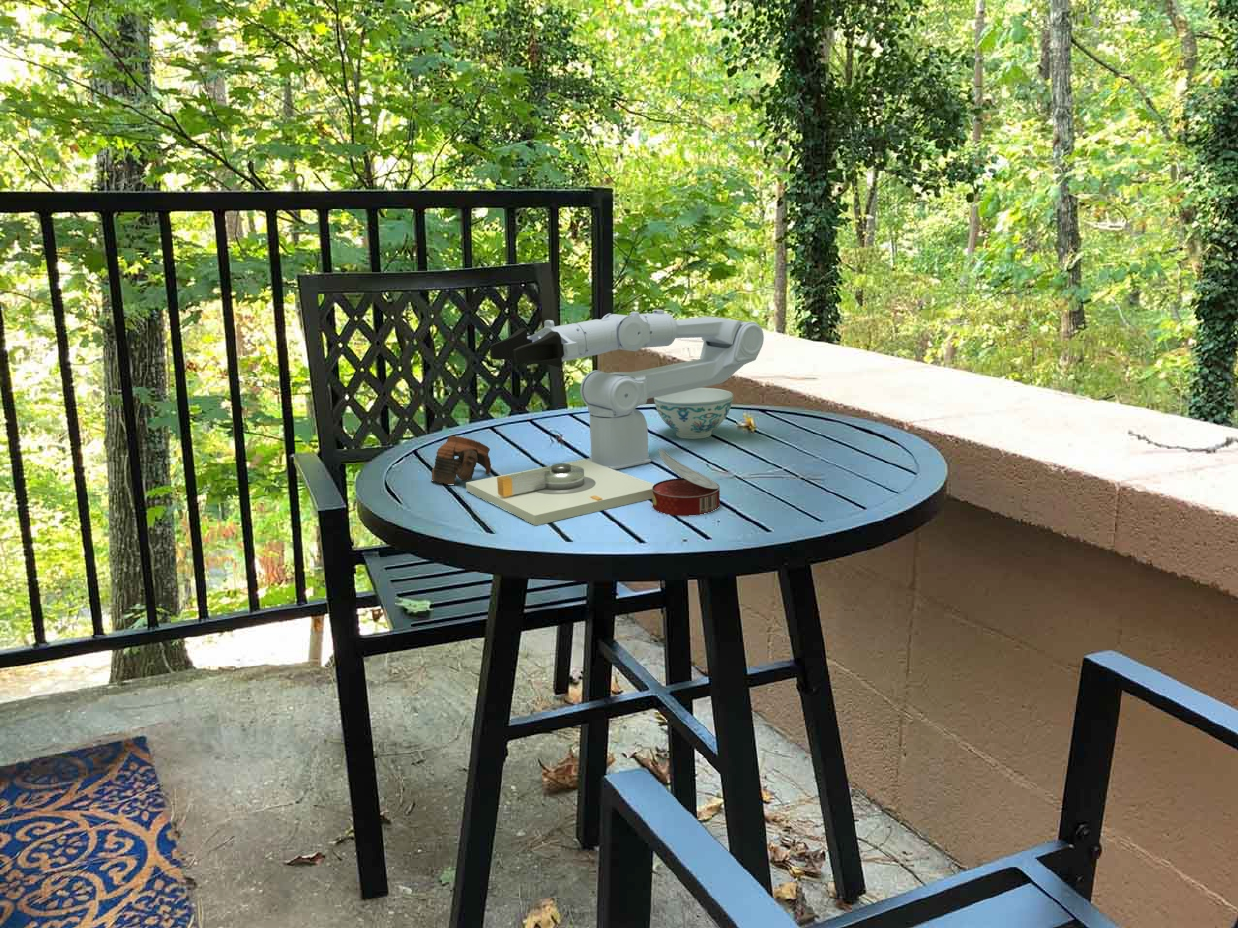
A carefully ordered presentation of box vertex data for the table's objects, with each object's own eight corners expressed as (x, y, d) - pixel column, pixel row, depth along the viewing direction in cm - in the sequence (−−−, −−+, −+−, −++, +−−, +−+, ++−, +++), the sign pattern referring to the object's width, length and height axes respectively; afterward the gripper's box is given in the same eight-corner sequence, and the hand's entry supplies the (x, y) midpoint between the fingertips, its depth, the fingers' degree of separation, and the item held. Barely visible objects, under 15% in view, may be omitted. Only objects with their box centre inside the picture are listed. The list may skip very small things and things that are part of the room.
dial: (569, 474, 156) (568, 457, 156) (593, 484, 151) (592, 466, 150) (490, 490, 149) (488, 473, 148) (512, 501, 143) (510, 482, 142)
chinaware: (737, 442, 180) (736, 401, 178) (655, 445, 181) (654, 403, 179) (729, 425, 195) (729, 386, 193) (654, 427, 195) (653, 388, 193)
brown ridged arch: (420, 481, 164) (435, 434, 166) (472, 498, 168) (486, 452, 170) (441, 478, 153) (457, 429, 155) (496, 497, 157) (511, 448, 159)
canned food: (673, 526, 150) (685, 463, 152) (729, 531, 144) (740, 465, 145) (628, 509, 142) (641, 442, 143) (685, 513, 135) (697, 443, 137)
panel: (584, 467, 167) (584, 458, 166) (662, 496, 149) (661, 485, 149) (466, 491, 155) (465, 481, 154) (535, 525, 137) (534, 514, 137)
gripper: (550, 313, 164) (478, 326, 157) (598, 318, 153) (522, 331, 145) (555, 355, 166) (483, 369, 159) (603, 363, 155) (528, 378, 147)
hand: (502, 354), depth 152 cm, fingers open, 7 cm apart
